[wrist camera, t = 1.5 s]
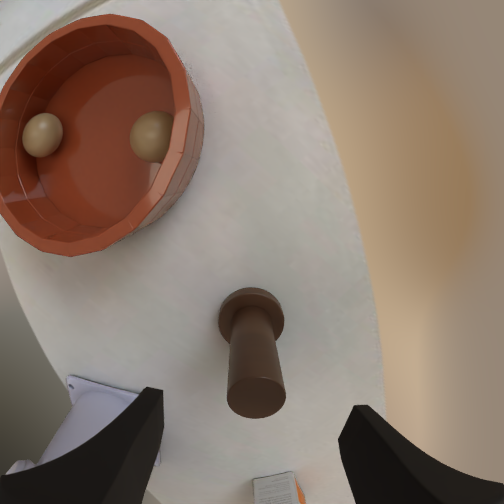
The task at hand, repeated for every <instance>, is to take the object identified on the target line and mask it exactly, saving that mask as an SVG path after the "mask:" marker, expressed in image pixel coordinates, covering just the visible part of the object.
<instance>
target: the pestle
mask: <svg viewBox="0 0 504 504" xmlns="http://www.w3.org/2000/svg"><path fill="white" fill-rule="evenodd" d="M218 324H219V329H220V332H221V334H222V336H223V338H224V339H225V340H226V341H227V342H228V343H229V344H230V354H229V369H228V386H227V402H228V405H229V407H230V408H231V409H232V410H233V411H234V412H235V413H236V414H238V415H240V416H243V417H246V418H252V419H258V418H265V417H268V416H271V415H273V414H274V413H276V412H277V411H279V410H280V409H281V407H282V406H283V405H284V402H285V399H286V392H285V387H284V382H283V377H282V372H281V367H280V362H279V357H278V352H277V347H276V342H275V341H276V340H277V339H278V338H279V336H280V335H281V333H282V331H283V327H284V315H283V312H282V308H281V305H280V303H279V302H278V300H277V299H276V298H275V297H274V296H273V295H272V294H271V293H269V292H267V291H265V290H263V289H259V288H244V289H240V290H237V291H235V292H234V293H232V294H231V295H229V296H228V297H227V298H226V299H225V301H224V302H223V304H222V306H221V309H220V313H219V320H218Z"/></svg>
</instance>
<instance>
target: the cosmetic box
mask: <svg viewBox="0 0 504 504" xmlns="http://www.w3.org/2000/svg"><path fill="white" fill-rule="evenodd" d="M253 495H254V504H306V501H305V496H304V494H303V492H302V490H301V488H300V486H299V484H298V482H297V480H296V478H295V475H294V473H293V472H287V473H283V474H278V475H274V476H269V477H264V478H258V479H254V480H253Z"/></svg>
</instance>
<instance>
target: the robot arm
mask: <svg viewBox="0 0 504 504" xmlns="http://www.w3.org/2000/svg"><path fill="white" fill-rule="evenodd" d="M66 383H67V387H68V391H69V395H70V399H71V403H72V408H71V410H70V411H69V413H68V414H67V416H66V418H65V419H64V421H63V422H62V424H61V426H60V427H59V429H58V430H57V432H56V433H55V435H54V437H53V438H52V440H51V442H50V443H49V445H48V447H47V448H46V450H45V452H44V453H43V455H42V457H41V458H40V460H39V462H38V463H37V464H36V465H35V464H34V463H33V462H31V461H30V460H26V461H21V460H19V461H17V462H16V463H15V464H14V465H13V466H12V467H11V468H10V470H9V471H8V472H7V473H6V475H2V476H1V477H0V504H142V500H143V496H144V492H145V490H146V487H147V484H148V481H149V478H150V475H151V472H152V469H153V466H160V464H161V459H160V444H161V439H162V434H163V429H164V409H163V390H159V389H154V388H150V387H146V388H144V389H143V391H142V392H141V393H140V394H136V393H132V392H128V391H124V390H120V389H116V388H112V387H109V386H105V385H101V384H98V383H94V382H91V381H88V380H84V379H81V378H78V377H75V376H72V375H68V376H67V378H66ZM72 385H73V386H72ZM338 443H339V449H340V455H341V460H342V463H343V466H344V469H345V472H346V476H347V478H348V481H349V484H350V487H351V490H352V493H353V496H354V499H355V503H356V504H504V485H503V483H498V482H493V481H487V480H483V479H480V478H476V477H473V476H470V475H467V474H465V473H462V472H460V471H457V470H455V469H453V468H451V467H449V466H447V465H445V464H443V463H441V462H439V461H437V460H436V459H434V458H432V457H431V456H429V455H427V454H426V453H425V452H423V451H422V450H420V449H419V448H418V447H416V446H415V445H414V444H412V443H411V442H410V441H409V440H407V439H406V438H405V437H404V436H402V435H401V434H400V433H399V432H398V431H397V430H395V429H394V428H393V427H392V426H391V425H390V424H389V423H388V422H386V421H385V420H384V419H383V418H382V417H381V416H380V415H379V414H378V413H377V412H375V411H374V410H373V409H372V408H371V407H370V406H368V405H354V406H353V409H352V411H351V413H350V415H349V417H348V419H347V422H346V424H345V426H344V428H343V430H342V432H341V434H340V436H339V438H338Z"/></svg>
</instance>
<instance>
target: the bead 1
mask: <svg viewBox="0 0 504 504" xmlns="http://www.w3.org/2000/svg"><path fill="white" fill-rule="evenodd" d="M62 137H63V127H62V124H61V122H60V120H59V119H58V118H57V117H56V116H55V115H53V114H50V113H41V114H38V115H36V116H34V117H33V118H32V119H30V120H29V122H28V123H27V124H26V126H25V128H24V131H23V135H22V142H23V146H24V148H25V150H26V151H27V152H28V153H29V154H30V155H32V156H34V157H45V156H48V155H50V154H52V153H53V152H54V151H55V150H56V149H57V148H58V146H59V145H60V143H61V141H62Z"/></svg>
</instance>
